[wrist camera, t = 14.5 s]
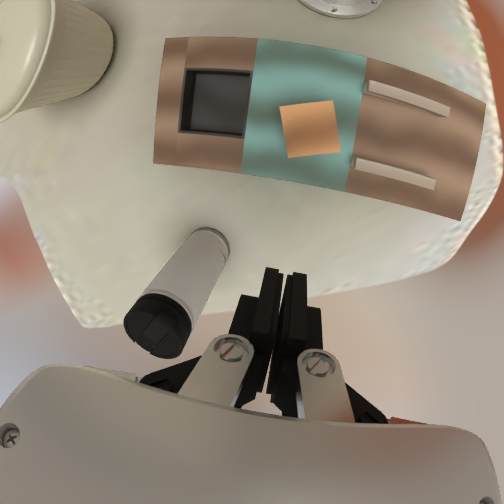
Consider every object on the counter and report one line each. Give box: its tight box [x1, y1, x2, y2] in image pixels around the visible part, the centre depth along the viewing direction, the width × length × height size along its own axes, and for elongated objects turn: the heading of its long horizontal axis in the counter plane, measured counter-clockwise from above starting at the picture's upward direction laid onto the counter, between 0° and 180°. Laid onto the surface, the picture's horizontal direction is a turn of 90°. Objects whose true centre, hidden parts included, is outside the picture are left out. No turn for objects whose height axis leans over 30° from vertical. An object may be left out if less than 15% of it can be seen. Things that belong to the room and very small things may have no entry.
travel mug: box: [124, 228, 229, 359], centre depth 34 cm, size 6×7×20 cm
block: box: [279, 100, 341, 158], centre depth 28 cm, size 5×5×5 cm
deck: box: [153, 37, 486, 221], centre depth 29 cm, size 16×40×7 cm, turn 83°
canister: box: [0, 0, 114, 123], centre depth 22 cm, size 18×18×21 cm
